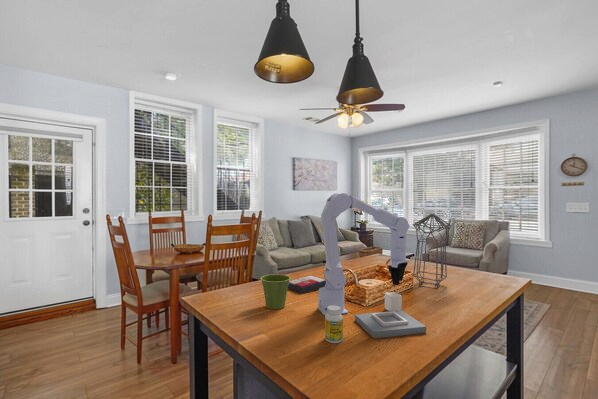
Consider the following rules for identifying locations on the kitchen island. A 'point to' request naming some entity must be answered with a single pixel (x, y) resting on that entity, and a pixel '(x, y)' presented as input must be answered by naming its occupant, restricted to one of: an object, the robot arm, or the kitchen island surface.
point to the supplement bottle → (333, 324)
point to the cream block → (393, 301)
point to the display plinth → (389, 324)
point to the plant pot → (275, 290)
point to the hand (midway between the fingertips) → (397, 282)
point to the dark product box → (306, 284)
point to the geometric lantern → (431, 242)
